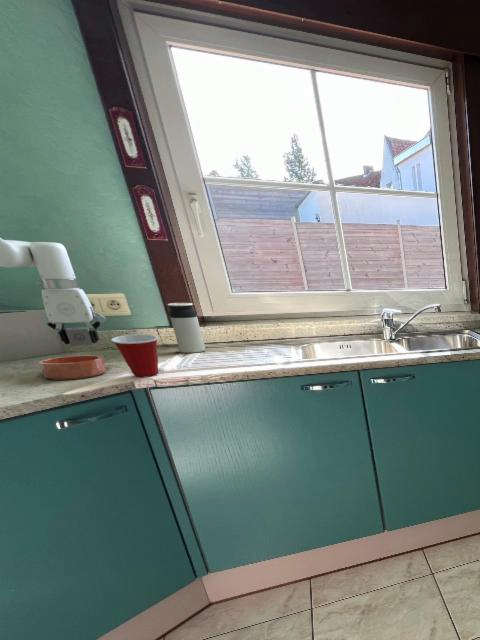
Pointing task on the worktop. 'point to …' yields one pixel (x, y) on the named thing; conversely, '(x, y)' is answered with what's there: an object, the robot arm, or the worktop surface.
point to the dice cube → (79, 336)
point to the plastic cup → (139, 353)
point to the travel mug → (186, 328)
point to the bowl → (72, 367)
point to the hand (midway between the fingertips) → (81, 342)
